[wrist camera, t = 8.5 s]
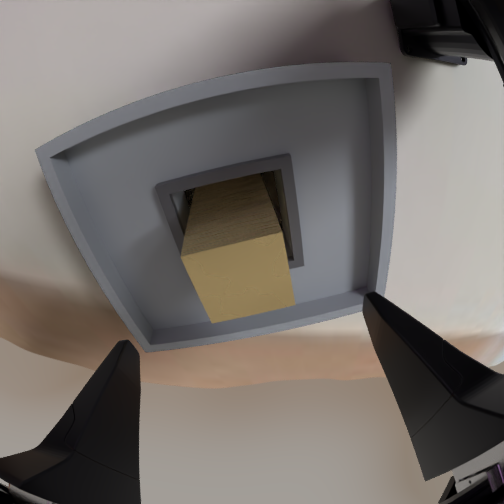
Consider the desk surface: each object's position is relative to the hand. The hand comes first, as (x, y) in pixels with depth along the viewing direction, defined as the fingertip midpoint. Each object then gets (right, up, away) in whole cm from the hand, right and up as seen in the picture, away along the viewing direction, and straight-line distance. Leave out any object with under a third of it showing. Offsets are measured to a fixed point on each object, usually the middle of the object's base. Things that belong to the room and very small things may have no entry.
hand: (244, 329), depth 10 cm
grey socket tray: (-1, +6, +9) cm, 10 cm away
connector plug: (-1, +6, +9) cm, 10 cm away
